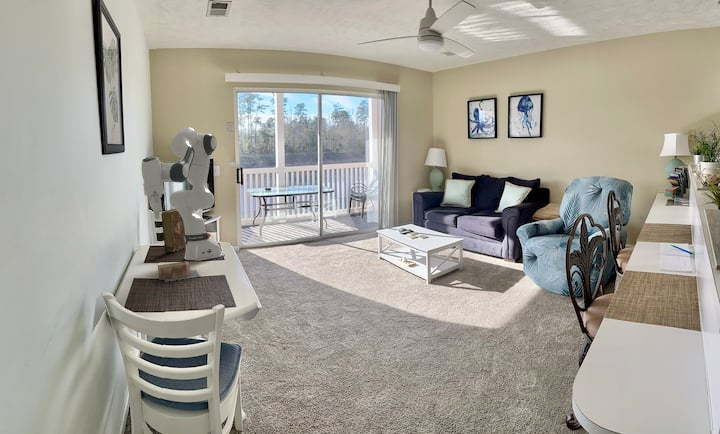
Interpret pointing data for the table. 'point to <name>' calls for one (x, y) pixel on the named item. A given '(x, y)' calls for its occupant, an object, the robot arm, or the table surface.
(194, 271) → the mat
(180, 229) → the book
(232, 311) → the table surface
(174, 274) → the walnut block
